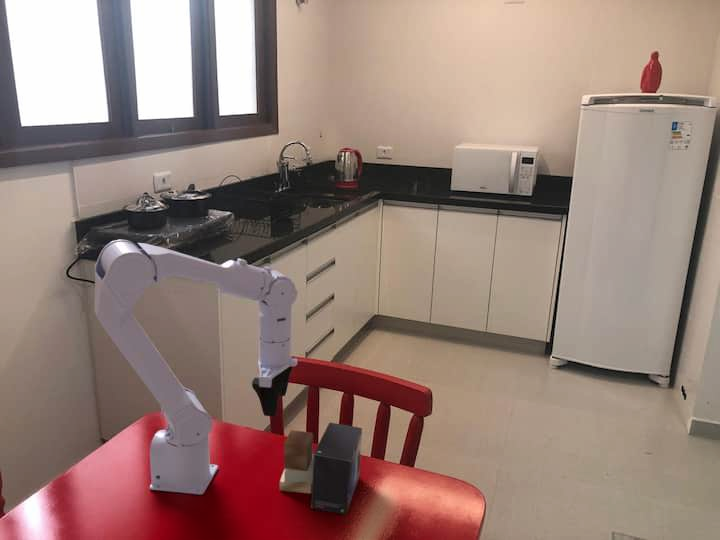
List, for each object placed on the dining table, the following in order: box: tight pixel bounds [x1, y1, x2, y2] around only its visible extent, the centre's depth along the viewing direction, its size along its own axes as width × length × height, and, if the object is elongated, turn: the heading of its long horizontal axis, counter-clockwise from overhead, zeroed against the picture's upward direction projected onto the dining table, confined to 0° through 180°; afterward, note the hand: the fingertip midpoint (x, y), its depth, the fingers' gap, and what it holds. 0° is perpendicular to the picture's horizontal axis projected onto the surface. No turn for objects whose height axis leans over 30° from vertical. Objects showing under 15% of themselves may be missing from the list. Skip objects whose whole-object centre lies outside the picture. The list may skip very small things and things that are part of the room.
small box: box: [310, 422, 363, 515], centre depth 97 cm, size 11×6×10 cm, turn 168°
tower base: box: [279, 468, 313, 494], centre depth 101 cm, size 6×6×2 cm
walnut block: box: [283, 429, 314, 471], centre depth 99 cm, size 4×4×5 cm
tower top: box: [284, 453, 314, 482], centre depth 101 cm, size 5×5×2 cm
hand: (275, 404), depth 107 cm, fingers open, 7 cm apart
